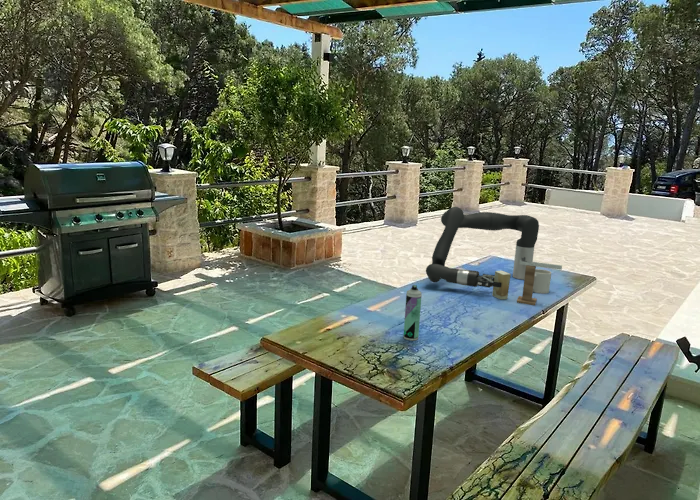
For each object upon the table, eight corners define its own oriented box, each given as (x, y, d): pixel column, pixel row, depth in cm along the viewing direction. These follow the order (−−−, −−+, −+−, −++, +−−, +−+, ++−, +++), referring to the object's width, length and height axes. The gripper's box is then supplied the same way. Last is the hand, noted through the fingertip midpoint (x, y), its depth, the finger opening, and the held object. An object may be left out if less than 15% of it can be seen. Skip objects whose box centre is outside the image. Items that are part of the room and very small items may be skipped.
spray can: (408, 333, 203) (412, 282, 199) (421, 337, 200) (425, 285, 196) (400, 337, 199) (404, 285, 195) (413, 341, 196) (416, 288, 191)
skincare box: (491, 295, 255) (494, 270, 252) (499, 295, 257) (501, 270, 254) (500, 300, 250) (503, 274, 247) (508, 299, 251) (511, 273, 249)
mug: (546, 289, 271) (548, 269, 268) (551, 294, 261) (553, 274, 259) (524, 287, 272) (526, 268, 269) (528, 293, 262) (530, 273, 260)
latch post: (518, 297, 254) (522, 262, 250) (536, 300, 251) (541, 265, 247) (516, 302, 247) (520, 266, 243) (534, 305, 244) (539, 268, 240)
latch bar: (519, 263, 248) (520, 256, 247) (561, 268, 241) (562, 262, 240) (519, 264, 246) (520, 257, 245) (561, 269, 239) (562, 262, 238)
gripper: (465, 273, 250) (501, 278, 244) (471, 266, 263) (505, 271, 257) (464, 289, 252) (499, 294, 246) (470, 281, 265) (504, 286, 259)
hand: (502, 282), depth 252 cm, fingers open, 8 cm apart
